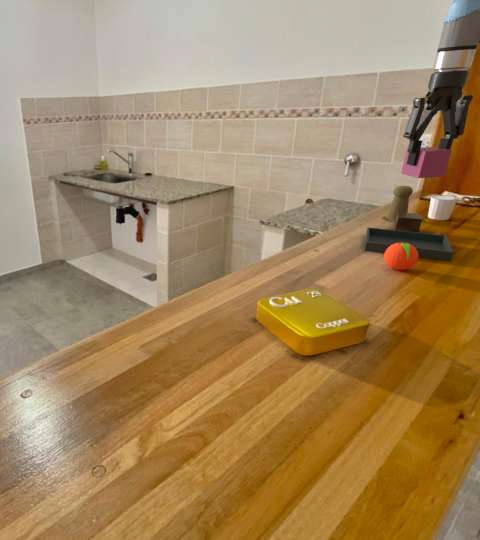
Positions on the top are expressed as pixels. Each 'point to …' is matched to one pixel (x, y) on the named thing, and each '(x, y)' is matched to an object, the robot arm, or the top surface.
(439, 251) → the tray
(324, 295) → the element tile
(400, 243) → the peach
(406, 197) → the cork
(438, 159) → the mulberry cube
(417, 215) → the walnut block
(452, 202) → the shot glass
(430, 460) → the top surface
